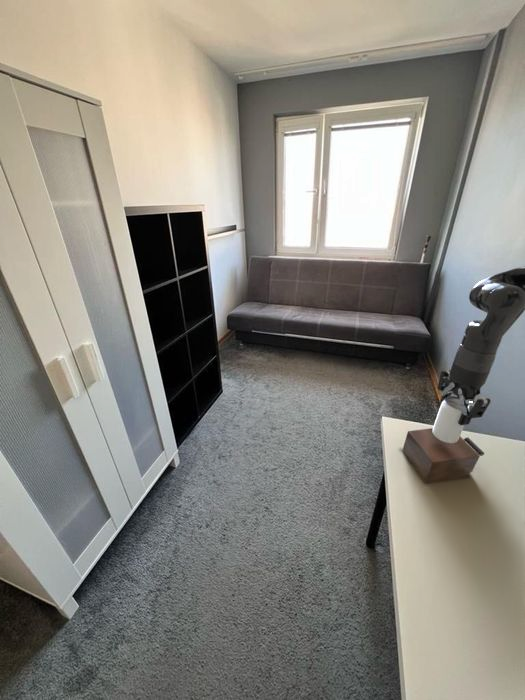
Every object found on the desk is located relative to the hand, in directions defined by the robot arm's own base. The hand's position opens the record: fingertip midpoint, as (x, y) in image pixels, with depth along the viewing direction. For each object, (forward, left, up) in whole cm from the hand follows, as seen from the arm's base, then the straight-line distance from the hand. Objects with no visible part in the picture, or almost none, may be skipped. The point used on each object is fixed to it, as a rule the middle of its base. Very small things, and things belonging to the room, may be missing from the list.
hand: (452, 414), depth 76 cm
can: (0, 0, -8) cm, 8 cm away
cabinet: (0, 0, -19) cm, 19 cm away
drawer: (-4, 0, -18) cm, 19 cm away
